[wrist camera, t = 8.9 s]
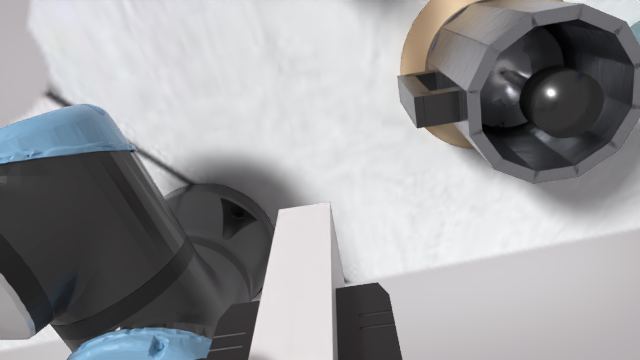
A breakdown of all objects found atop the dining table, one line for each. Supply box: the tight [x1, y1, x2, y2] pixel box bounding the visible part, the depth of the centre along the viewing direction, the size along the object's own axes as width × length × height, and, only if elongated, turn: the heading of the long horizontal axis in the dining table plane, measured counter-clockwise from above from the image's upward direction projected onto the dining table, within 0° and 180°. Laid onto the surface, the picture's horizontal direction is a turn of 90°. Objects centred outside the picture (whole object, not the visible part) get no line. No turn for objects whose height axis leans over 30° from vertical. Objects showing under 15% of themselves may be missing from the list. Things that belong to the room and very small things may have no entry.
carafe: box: [397, 0, 640, 183], centre depth 41 cm, size 17×12×15 cm
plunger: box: [480, 26, 604, 139], centre depth 38 cm, size 9×9×12 cm
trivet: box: [401, 0, 563, 148], centre depth 48 cm, size 17×17×1 cm
